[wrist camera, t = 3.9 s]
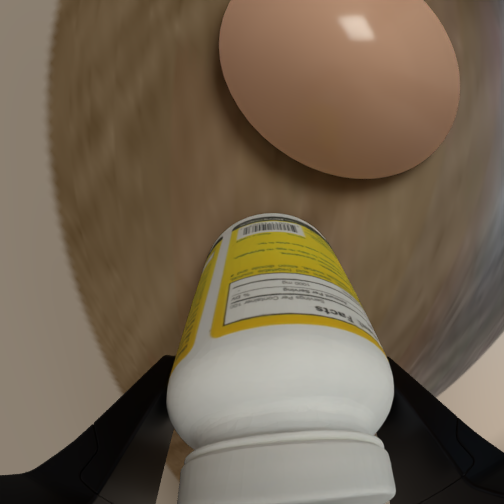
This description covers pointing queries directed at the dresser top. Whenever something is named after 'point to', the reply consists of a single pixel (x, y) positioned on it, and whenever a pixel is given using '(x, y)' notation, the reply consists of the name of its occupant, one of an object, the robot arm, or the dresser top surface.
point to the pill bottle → (279, 376)
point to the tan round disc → (343, 80)
